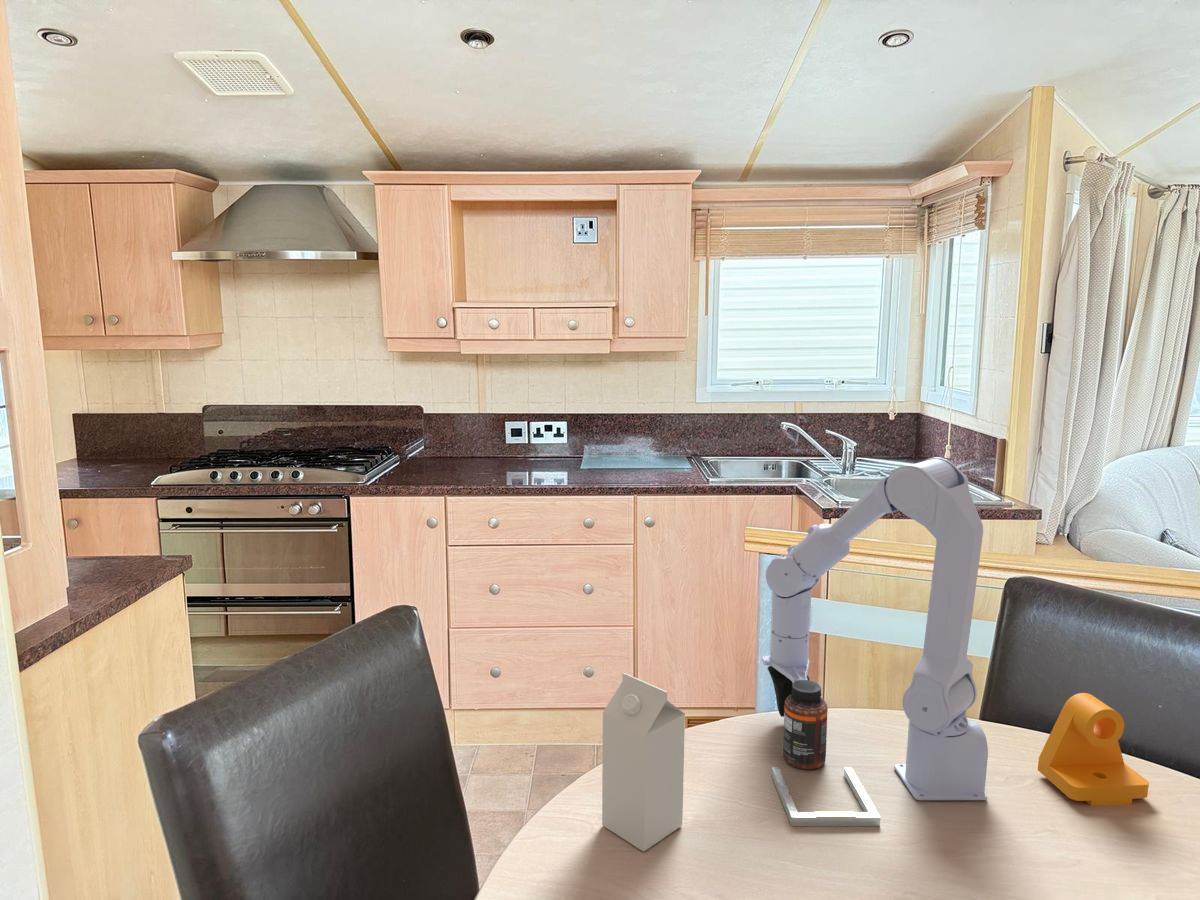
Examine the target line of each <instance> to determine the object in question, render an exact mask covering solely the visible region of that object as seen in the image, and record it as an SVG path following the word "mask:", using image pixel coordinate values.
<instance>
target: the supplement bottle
mask: <svg viewBox="0 0 1200 900" xmlns="http://www.w3.org/2000/svg"><path fill="white" fill-rule="evenodd" d="M821 686H822V685H820V684H819V683H817V682H815V681H813V680H810V679H809V680H798V681H795V682H794V683H793V684H792V694H791V695H790V696H788V697H787V698H786V700H785V707H784V709H785V710H784V717H783V742H782V744H783V745H782V746H783V747H782V756H783V759H784V760H785V762H786V763H787V764H789V765H790V766H792V767H794V768H796V769H801V770H816V769H819V768H821V767H823V765H824V764H825V762H826V758H827V738H828V737H827V734H828V732H827V731H828V710H829V709H828V708H829V707H828V705H827V702H826V701H825V700H824V698H822V687H821Z"/></svg>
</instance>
